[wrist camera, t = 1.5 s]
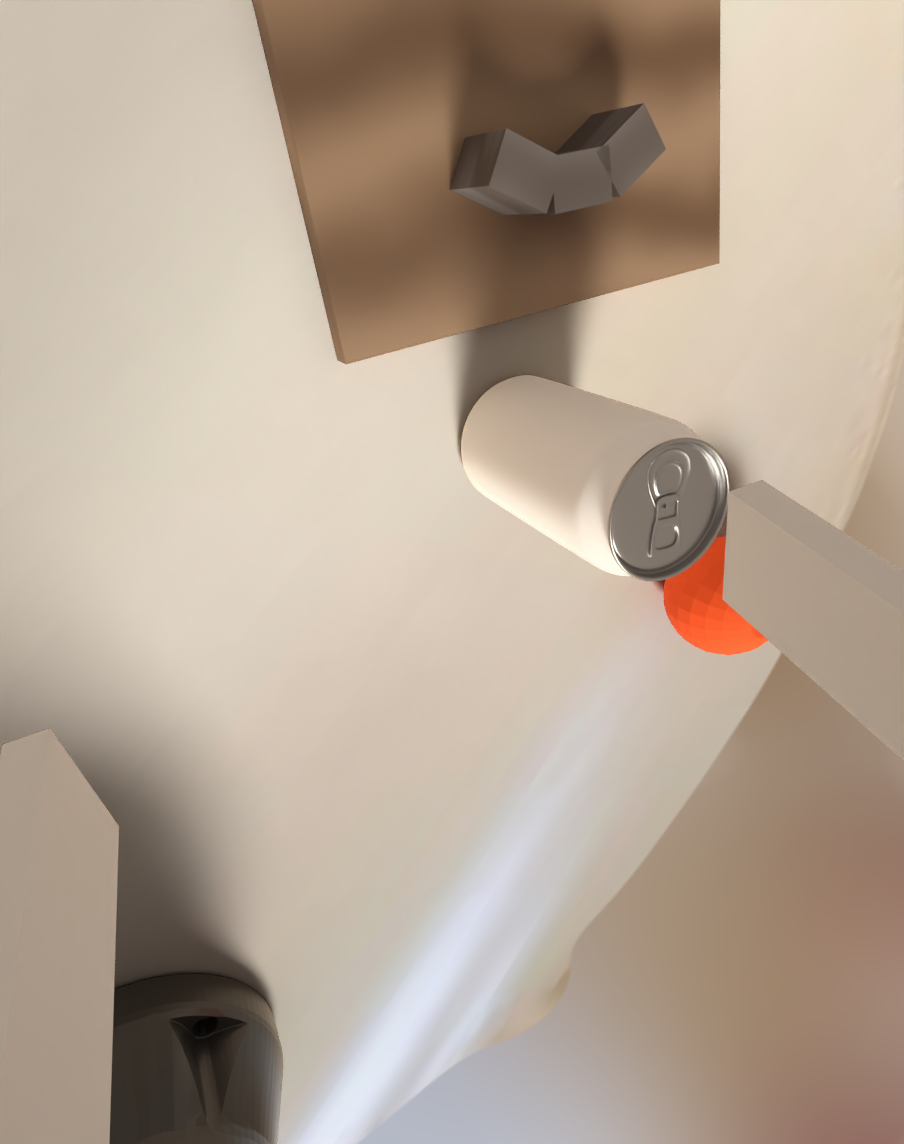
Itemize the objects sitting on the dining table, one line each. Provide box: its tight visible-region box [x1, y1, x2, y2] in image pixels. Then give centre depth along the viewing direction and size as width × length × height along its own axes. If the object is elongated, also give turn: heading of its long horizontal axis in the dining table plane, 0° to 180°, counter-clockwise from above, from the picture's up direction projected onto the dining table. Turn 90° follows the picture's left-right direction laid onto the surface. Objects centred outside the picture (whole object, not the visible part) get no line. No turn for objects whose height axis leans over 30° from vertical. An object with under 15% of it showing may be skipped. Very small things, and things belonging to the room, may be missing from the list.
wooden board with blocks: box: [252, 0, 720, 364], centre depth 29 cm, size 20×20×5 cm
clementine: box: [664, 536, 768, 655], centre depth 44 cm, size 8×7×7 cm
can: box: [461, 375, 730, 581], centre depth 33 cm, size 6×6×12 cm
